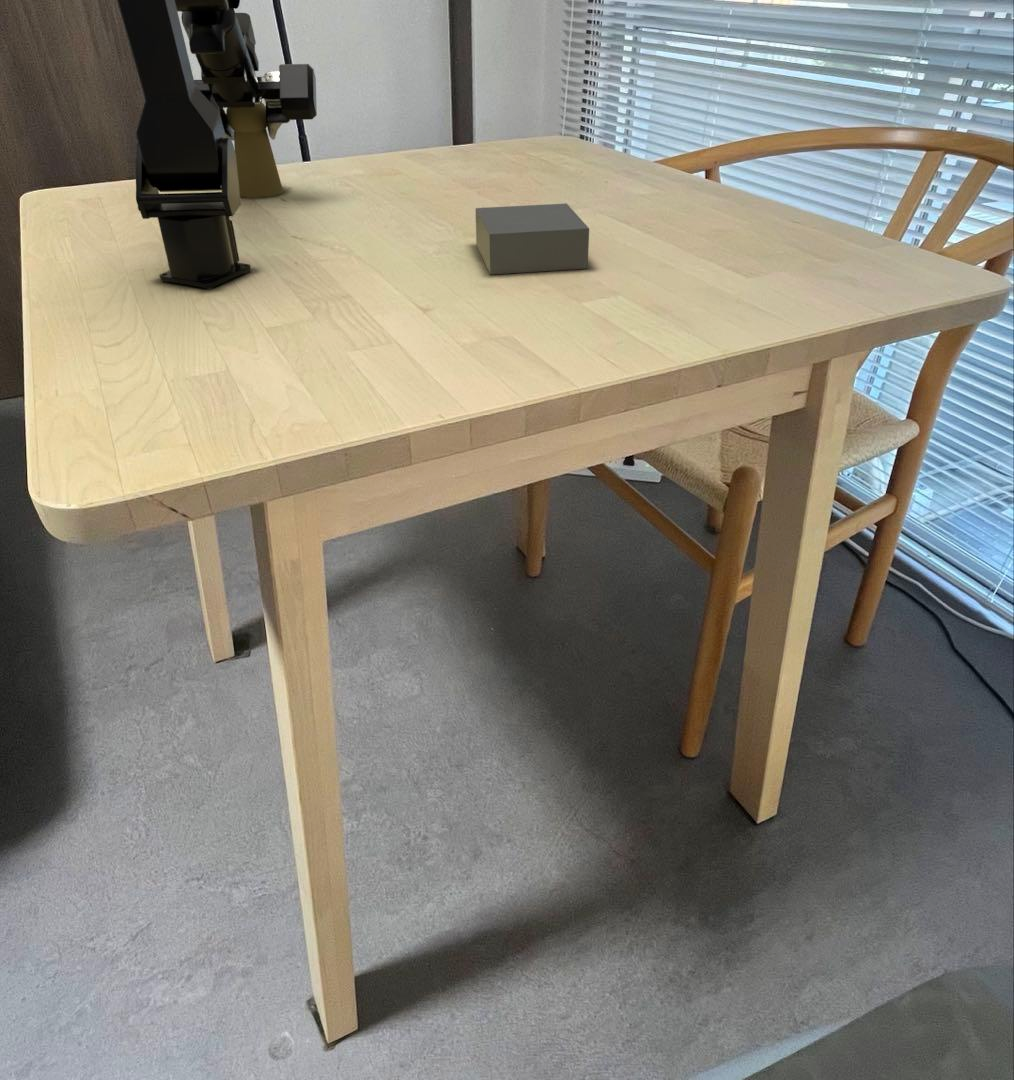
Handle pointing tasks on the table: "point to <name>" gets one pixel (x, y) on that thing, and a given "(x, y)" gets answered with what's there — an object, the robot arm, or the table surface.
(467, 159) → the table surface
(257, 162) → the olive brown pawn
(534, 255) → the grey block
